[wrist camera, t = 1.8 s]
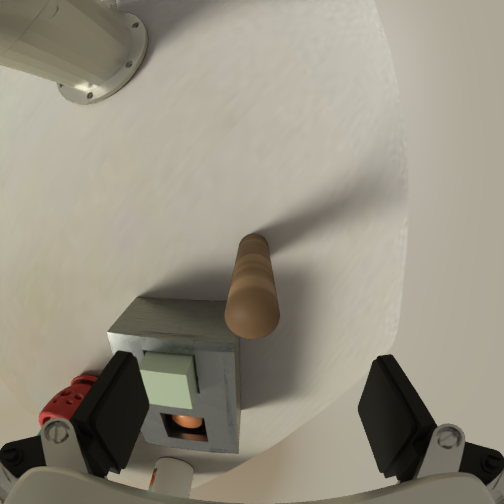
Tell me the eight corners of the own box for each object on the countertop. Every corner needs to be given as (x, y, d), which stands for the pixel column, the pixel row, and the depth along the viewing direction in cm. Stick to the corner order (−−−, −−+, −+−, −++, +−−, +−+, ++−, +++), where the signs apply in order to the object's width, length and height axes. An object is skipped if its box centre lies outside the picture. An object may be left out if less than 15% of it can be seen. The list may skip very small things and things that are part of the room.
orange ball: (177, 386, 31) (169, 408, 27) (205, 388, 31) (200, 411, 27) (181, 404, 32) (174, 426, 28) (207, 407, 32) (203, 429, 28)
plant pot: (154, 421, 37) (134, 477, 25) (98, 420, 38) (74, 465, 26) (112, 361, 33) (75, 419, 22) (58, 366, 34) (22, 411, 23)
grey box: (136, 296, 30) (106, 332, 22) (239, 301, 30) (234, 343, 22) (160, 403, 35) (146, 442, 27) (240, 410, 35) (238, 453, 27)
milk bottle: (166, 452, 39) (144, 537, 20) (201, 467, 41) (188, 550, 21) (151, 462, 41) (129, 537, 22) (183, 476, 42) (169, 550, 23)
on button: (153, 338, 25) (136, 369, 20) (196, 341, 25) (186, 375, 20) (160, 371, 26) (147, 403, 22) (200, 375, 26) (192, 409, 22)
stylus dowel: (238, 233, 28) (223, 290, 14) (268, 234, 28) (281, 291, 14) (238, 262, 29) (225, 338, 15) (268, 262, 29) (278, 339, 15)
